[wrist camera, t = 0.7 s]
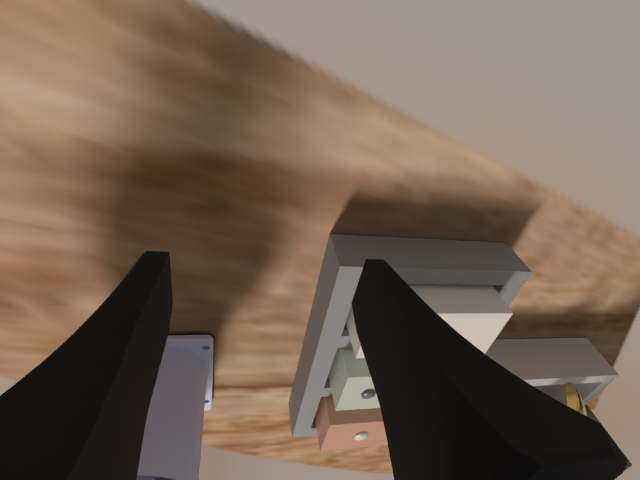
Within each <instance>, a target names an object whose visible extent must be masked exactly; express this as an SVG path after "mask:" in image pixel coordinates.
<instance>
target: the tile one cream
mask: <svg viewBox="0 0 640 480" xmlns="http://www.w3.org/2000/svg"><path fill="white" fill-rule="evenodd" d="M408 285H409V286H410V287H411V288H412V289H413V290H414V291H415V292H416V293H417V294H418V295H419V296H420V297H421V299H422V300H423V301H424V302H425V303H427V304H428V305H429V306H430V307H431V308H432V309H433V310H434V311H435V312H436V313H437V314H438V315H439V316H440V317H441V318H442V319H443V320H445V321H446V322H447V323H448V324H449V325H450V326H451V327H452V328H453V329H455V330H456V331H457V332H458V333H459V334H460V335H462V336H463V337H464V338H465V339H467V340H468V341H469V342H470V343H472V344H473V345H474V346H475V347H477V348H478V349H479V350H481V351H482V352H483V353H484V354H485V353H486V351H487V350H488V349H489V347H490V346H491V344H492V343H493V341H494V340H495V339H496V337H497V336H498V334H499V333H500V332H501V330H502V329H503V327H504V326H505V324H506V323H507V322H508V320H509V319H510V317H511V316H512V314H513V312H512V311H511V310H510V308H509V307H508V306H507V304H506V303H505V302H504V300H503V299H502V298H501V296H500V295H499V293H498V292H497V291H496V289H495V288H494V287H493V285H458V284H408ZM346 325H347V329H348V333H349V336H350V340H351V344H352V347H353V351H354V354H355V358H365V357H364V354H363V351H362V348H361V344H360V341H359V338H358V335H357V331H356V326H355V321H354V315H353V309H352V305H351V308H350V311H349V314H348V317H347V320H346Z"/></svg>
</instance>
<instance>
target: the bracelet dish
mask: <svg viewBox="0 0 640 480" xmlns="http://www.w3.org/2000/svg"><path fill="white" fill-rule="evenodd" d="M485 354H486V355H487V356H489V357H490V358H491V359H493V360H494V361H495V362H497V363H498V364H500V365H501V366H503V367H504V368H506V369H507V370H509V371H510V372H512V373H513V374H514V375H516V376H518V377H519V378H521V379H522V380H524V381H525V382H527V383H529V384H530V385H532V386H533V387H535V388H537V389H538V390H540V391H542V392H544V393H545V394H547V395H549V396H550V397H552V398H554V399H555V400H557V401H559V402H561V403H563V404H565V405H566V406H567V395H566V391H565V389H564V387H563V385H562V384H567V383H569V382H571V383H572V384H574V385H575V387H576V388H577V390H578V391H579V393H580V395H581V397H582V400H583V402H584V405H587V404H588V403H589V402H590V401H591V400H592V399H593V398H594V397H595V396H596V395H598V394H599V393H600V392H601V391H602V390H603V389H604V388H605V387H606V386H607V385H609V384H610V383H611V382H612V381H613V380H614V379H615V378H616V377H617V376H618V373H617V372H616V371H615V370H614V369H613V368H612V366H611V365H610V364H609V363H608V362H607V361H606V360H605V359H604V357H603V356H602V355H601V354H600V353H599V352H598V351H597V349H596V348H595V347H594V346H593V345H592V344H591V343H590V341H589V340H588V339H587V338H541V339H495V340H494V341H493V343H492V344H491V346H490V347H489V349H488V350H487V351H486V353H485Z"/></svg>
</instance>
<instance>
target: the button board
mask: <svg viewBox="0 0 640 480" xmlns="http://www.w3.org/2000/svg"><path fill="white" fill-rule="evenodd" d="M366 259H383V260H385V261H386V262H387V263H388V264H389V265H390V266H391V267H392V268H393V269H394V271H395V272H396V273H397V274H398V275H399V276H400V277H401V278H402V279H403V280H404V281H405V282H406V283H407V284H458V285H493V287H494V288H495V289H496V291H497V292H498V293H499V295H500V296H501V298H502V299H503V300H504V302H505V303H506V304H507V306H509V305H510V303H511V302H512V300H513V299H514V297H515V296H516V294H517V293H518V292H519V290H520V289H521V287H522V286H523V284H524V283H525V281H526V280H527V278H528V277H529V275H530V274H531V270H530V269H529V268H528V267H527V266H526V265H525V264H524V263H523V261H522V260H521V259H520V258H519V257H518V256H517V255H516V253H515V252H514V251H513V250H512V249H511V248H510V247H509V246H508V244H507V243H503V242H483V241H463V240H443V239H424V238H404V237H384V236H364V235H344V234H330V235H329V240H328V244H327V248H326V252H325V256H324V260H323V264H322V268H321V273H320V277H319V281H318V285H317V289H316V293H315V297H314V301H313V306H312V310H311V314H310V318H309V322H308V326H307V330H306V334H305V339H304V343H303V347H302V351H301V355H300V359H299V363H298V367H297V372H296V376H295V380H294V384H293V388H292V392H291V396H290V400H289V410H290V420H291V430H292V437H297V436H309V435H318V434H317V428H316V421H315V414H316V411H317V408H318V405H319V402H320V399H321V397H330V396H332V391H331V386H330V381H329V376H328V375H329V372H330V369H331V365H332V362H333V359H334V356H335V353H336V350H337V348H347V347H352V344H351V340H350V336H349V333H348V329H347V325H346V320H347V317H348V314H349V311H350V308H351V305H352V300H353V297H354V294H355V291H356V288H357V285H358V282H359V279H360V275H361V272H362V269H363V266H364V263H365V260H366Z"/></svg>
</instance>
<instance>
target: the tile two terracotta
mask: <svg viewBox="0 0 640 480" xmlns="http://www.w3.org/2000/svg"><path fill="white" fill-rule="evenodd" d="M315 421H316V428H317V434H318V440H319V447H320V451H324V450H335V449H346V448H357V447H368V446H379V445H388V442H387V437H386V432H385V428H384V423H383V418H382V414H381V409H380V408H370V409H355V410H340V411H335V406H334V401H333V396H330V397H321V399H320V402H319V405H318V408H317V411H316V414H315Z"/></svg>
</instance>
